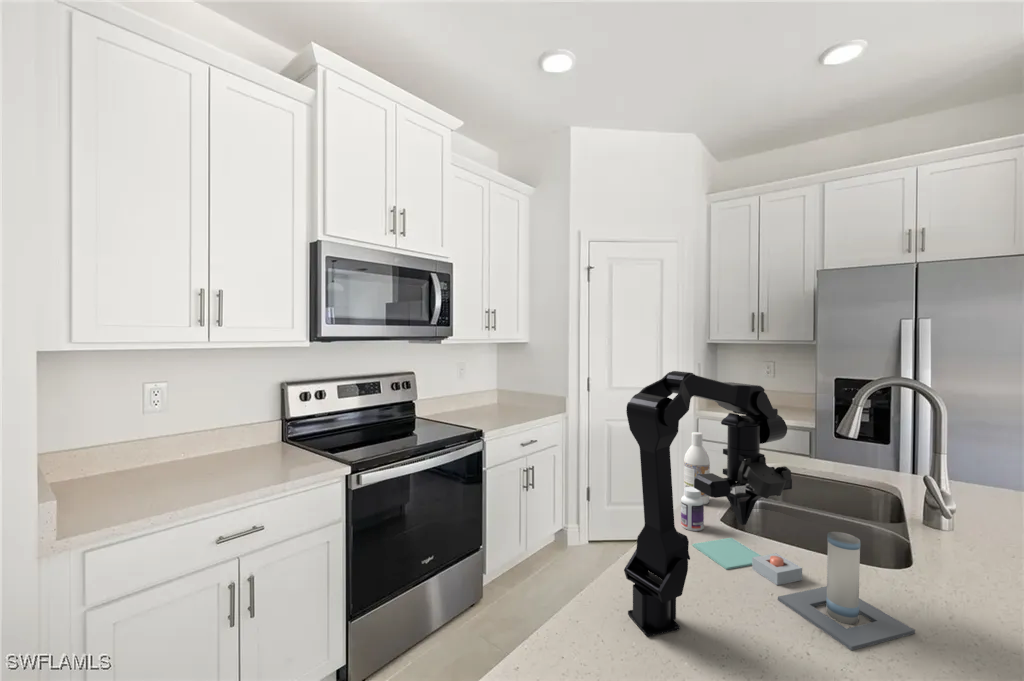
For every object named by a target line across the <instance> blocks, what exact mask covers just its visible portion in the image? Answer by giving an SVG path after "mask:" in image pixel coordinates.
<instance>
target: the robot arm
mask: <svg viewBox="0 0 1024 681" xmlns="http://www.w3.org/2000/svg"><path fill="white" fill-rule="evenodd" d="M765 390H766V389H765V387H763V386H761V385H758V384H757V385H756V384H750V383H749V384H747V383H738V382H726V381H725V382H722V381H720V380H719V381H718V380H715V379H712V378H707V377H703V376H700V375H697V374H695V373H693V372H687V371H677V370H673V371H670V372H667V373H666V374H665V375H664V376H663V377H662V378H661V379H659V380H656V381H655V382H652V383H651V384H649V385H646V386H645V387H643V388H642V389H641V390H640V391H639V392H638V393H636V394H634V395H633V396H632V397H631V398H630V400H629V402H627V405H626V410H625V412H626V416H627V423H628V427H629V430H630V432H631V434H632V436H633V438H634V440H636V442H637V444H638V447H639V457H640V458H639V459H640V471H641V474H640V475H641V488H642V502H643V517H644V518H643V519H644V525H643V527H642V529H641V530H640V532H639V534H638V535H637V538H636V550H634V552H633V554H632V555H631V557H630V559H629V561H628V562H627V563H626V565H625V567H624V569H623V572H624V575H625V578H626V580H628V581H630V582H632V583H633V584H632V609H630V610H627V615H628V617H630V619H631V620H632V621H633V622H634V623H635V624H636V626H638V628H639V629H640V630H641V632H643V634H644V635H645V636H647V637H652V636H656V635H657V636H658V635H661V634H666V633H671V632H675V631H679V630H680V628H681V627H680V624H678V622H677V621H676V619H677V598H679V597H681V596H682V595H683V592H684V588H685V587H684V586H685V583H686V580H687V575H688V571H689V560H691V556H690V553H689V543H690V542H689V538H688V536H687V535H685V534H683V533H682V532H679V531H678V530H677V529H676V526H675V525H676V524H675V511H674V497H673V496H674V495H673V482H672V481H673V480H672V478H673V477H672V463H671V445H672V443H673V442H674V440H675V438H676V437H677V435H678V433H679V427H680V426H679V424H680V420H681V419H682V418H684V416H685V415H686V414H687V413H688V412H689V410H690V407H691V399H692V398H693V397H695V398H699V399H704V400H708V401H712V402H715V403H717V405H718V406H719V407H721V408H722V409H724V410H727V411H731V412H729V413H728V414H727V416H725V417H724V418H723V419H722V420H721V422H720V423H721V424H720V425H723V426H726V427H727V448H722V454H723V455H725V456H727V457H726V458H727V462H726V468H722V474H723V475H725V476H727V477H721V476H719V475H717V474H714V473H711V472H710V473H709V474H699V475H697V476H696V477H695V479H694V488H695V489H697V490H699V491H701V492H703V493H704V494H706V495H708V496H709V498H710V497H711V498H724V497H725V498H727V501H728V502H729V504H730V507H731V509H732V511H733V513H734V516H735V517H736V520H737V522H738V524H740V525H741V526H746V525H747V523H748V520H749V519H750V517H751V514H752V511H753V509H754V507H755V504H756V503H757V501H758V500H760V499H761V498H769V497H775V496H777V497H780V496H781V495H782V493H783V491H785V490H792V489H793V479H792V472H791V471H792V470H790V468H788V467H787V466H785V465H784V466H777V467H774V466H769V465H767V462H766V460H767V458H766V455H765V454H764V453H761V452H760V449H761V448H760V446H761V444H767V443H772V442H777V441H781V440H782V439H783V438H785V436H786V435H787V432H788V426H787V424H786V421H785V419H784V418H783V417H782V416H781V415H779V413H778V408H775V407H773V405H772V402H771V401H770V399H769V396H768V395H767V393H766V391H765ZM672 394H676V395H675V396H674V398H670V396H671V395H672Z"/></svg>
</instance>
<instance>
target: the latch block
mask: <svg viewBox="0 0 1024 681" xmlns="http://www.w3.org/2000/svg"><path fill="white" fill-rule="evenodd" d="M771 556H778V557H781V558H782V559H783V560H784V563H783V566H780V567H776V566H774V565H773V564H771V563H770V557H771ZM751 566H752V568H751V570H753V571H755V572H756V573H757V574H759V575H761V576H762V577H763V578H765V579H767V580H768V581H769V582H771V583H773V584H774V585H776V586H781V585H785V584H791V583H795V582H799V581H803V567H802V566H799V565H798V564H796V563H794V562H793V561H791V560H789V559H788V558H786V557H784V556H782V555H781V554H779V553H778V552H775V553H770V554H764V555H761V556H757V557H752V565H751Z"/></svg>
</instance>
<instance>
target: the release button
mask: <svg viewBox="0 0 1024 681" xmlns="http://www.w3.org/2000/svg"><path fill="white" fill-rule="evenodd" d="M770 563H771V564H773V565H774V566H776V567H780V566H783V563H784V560H783V559H782V558H781V557H778V556H771V557H770Z"/></svg>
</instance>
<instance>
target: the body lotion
mask: <svg viewBox="0 0 1024 681" xmlns="http://www.w3.org/2000/svg"><path fill="white" fill-rule="evenodd" d="M710 464H711V462H710V456H709V454H708V452H707V451H706V450H705V448H704V446H703V432H699V431H693V432H691V445H690V446H689V448H688V449H687V450H686V452H685V454H684V460H683V489H684V488H685V487H694V479H695V477H696V476H697V475H699V474H709V473H711V472H710V471H711V468H710V467H711V466H710ZM700 497H701V498H702V499H703V501H704V505H707V504H709V502H710V496H708V495H706V494H704V493H703V492H701V496H700Z"/></svg>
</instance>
